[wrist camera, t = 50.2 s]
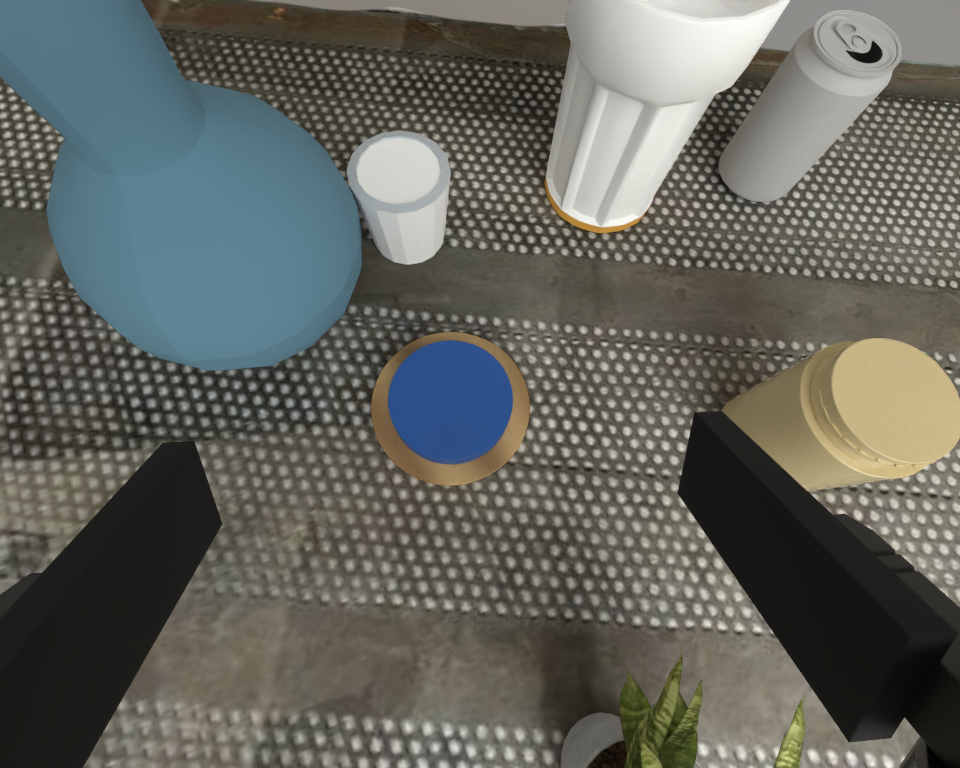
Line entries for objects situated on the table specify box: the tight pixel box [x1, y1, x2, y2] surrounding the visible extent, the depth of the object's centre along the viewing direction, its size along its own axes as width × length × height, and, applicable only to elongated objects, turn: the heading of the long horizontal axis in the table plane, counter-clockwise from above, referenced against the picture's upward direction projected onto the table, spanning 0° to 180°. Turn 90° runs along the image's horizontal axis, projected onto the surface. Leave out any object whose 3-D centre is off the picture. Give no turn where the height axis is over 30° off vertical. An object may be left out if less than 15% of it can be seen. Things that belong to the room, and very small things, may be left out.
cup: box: [544, 0, 790, 233], centre depth 32 cm, size 11×11×17 cm
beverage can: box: [719, 10, 903, 202], centre depth 36 cm, size 6×6×12 cm
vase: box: [0, 0, 362, 370], centre depth 24 cm, size 16×16×25 cm
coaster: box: [371, 332, 530, 486], centre depth 33 cm, size 11×11×1 cm
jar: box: [721, 338, 960, 492], centre depth 29 cm, size 8×8×11 cm
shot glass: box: [347, 130, 451, 265], centre depth 35 cm, size 7×7×7 cm
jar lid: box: [388, 340, 513, 465], centre depth 32 cm, size 8×8×2 cm
